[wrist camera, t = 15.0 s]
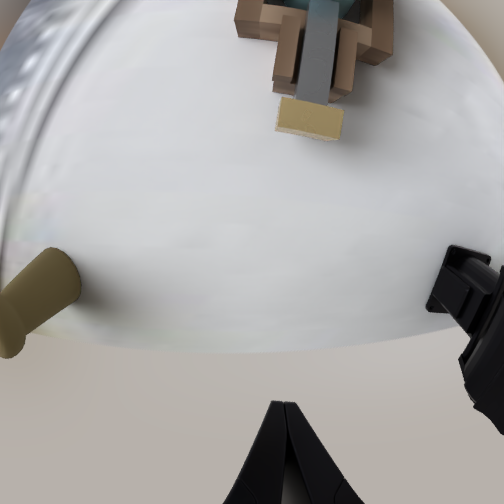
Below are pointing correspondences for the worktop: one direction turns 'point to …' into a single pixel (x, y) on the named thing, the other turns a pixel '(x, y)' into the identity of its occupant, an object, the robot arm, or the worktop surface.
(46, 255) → the cork
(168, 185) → the worktop surface
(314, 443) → the robot arm
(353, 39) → the dock
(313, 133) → the lock bolt
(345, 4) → the peg
